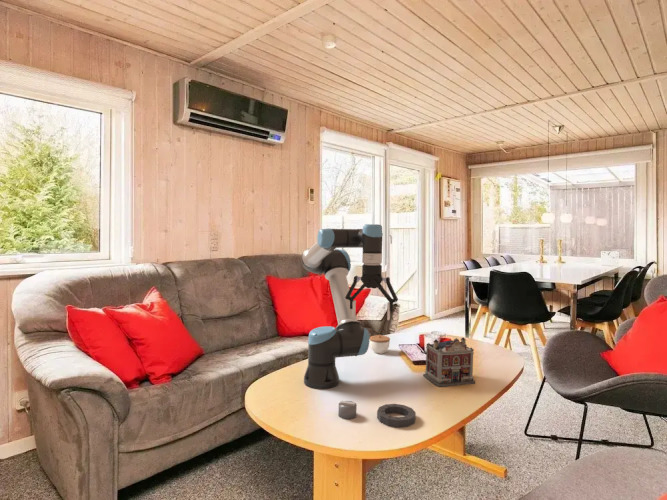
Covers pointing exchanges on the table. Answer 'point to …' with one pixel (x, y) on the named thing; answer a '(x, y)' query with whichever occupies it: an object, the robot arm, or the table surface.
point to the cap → (347, 410)
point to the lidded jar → (379, 343)
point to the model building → (449, 363)
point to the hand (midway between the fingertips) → (371, 318)
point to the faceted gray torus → (396, 421)
